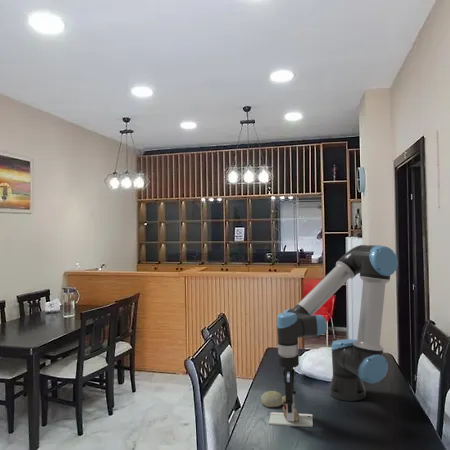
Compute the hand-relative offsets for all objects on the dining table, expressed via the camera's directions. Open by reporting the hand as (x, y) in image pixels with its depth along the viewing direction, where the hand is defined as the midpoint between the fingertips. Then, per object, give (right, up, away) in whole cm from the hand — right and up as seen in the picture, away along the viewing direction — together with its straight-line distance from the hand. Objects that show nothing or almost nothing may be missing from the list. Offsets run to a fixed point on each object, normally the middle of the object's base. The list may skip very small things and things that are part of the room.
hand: (290, 416), depth 156 cm
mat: (0, -2, 0) cm, 2 cm away
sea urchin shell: (-5, -3, +16) cm, 17 cm away
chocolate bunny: (0, -1, 0) cm, 1 cm away
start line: (+1, -2, +5) cm, 6 cm away
